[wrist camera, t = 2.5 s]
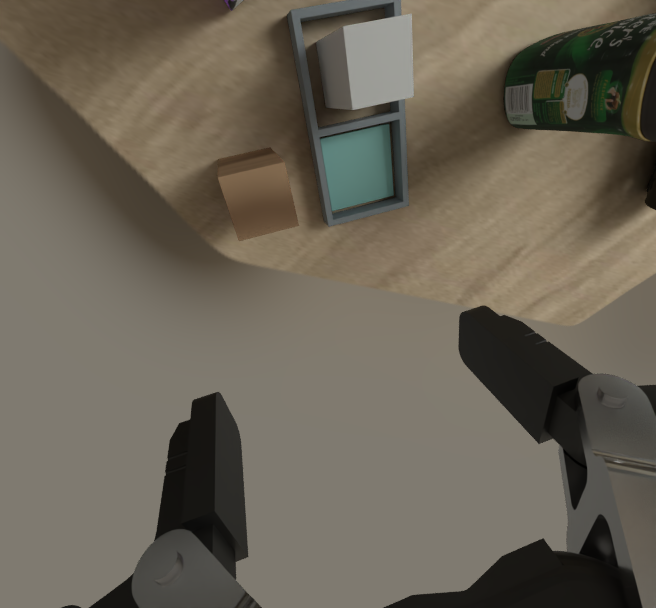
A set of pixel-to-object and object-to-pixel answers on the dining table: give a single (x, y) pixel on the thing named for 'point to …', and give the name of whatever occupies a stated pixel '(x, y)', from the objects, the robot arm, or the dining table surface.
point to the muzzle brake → (651, 191)
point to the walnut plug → (257, 193)
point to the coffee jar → (588, 81)
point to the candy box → (233, 3)
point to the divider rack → (358, 107)
